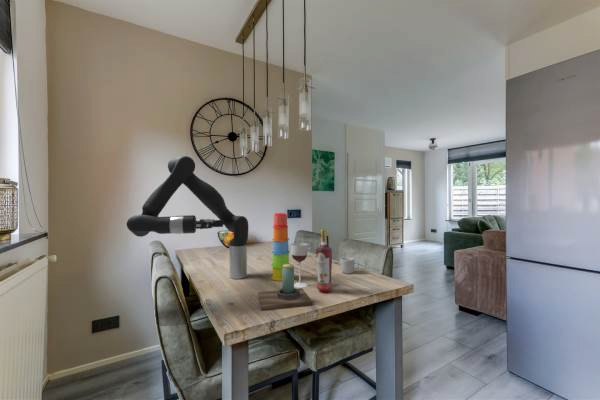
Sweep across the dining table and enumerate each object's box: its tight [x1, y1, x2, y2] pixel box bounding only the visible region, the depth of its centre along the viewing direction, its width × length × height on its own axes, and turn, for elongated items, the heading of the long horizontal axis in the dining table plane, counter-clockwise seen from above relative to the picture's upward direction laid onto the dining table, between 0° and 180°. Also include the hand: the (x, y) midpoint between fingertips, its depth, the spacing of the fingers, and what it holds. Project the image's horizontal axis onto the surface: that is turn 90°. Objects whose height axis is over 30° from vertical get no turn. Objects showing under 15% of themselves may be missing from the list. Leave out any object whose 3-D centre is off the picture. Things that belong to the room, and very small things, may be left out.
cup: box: [339, 256, 360, 275], centre depth 150 cm, size 11×8×8 cm
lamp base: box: [257, 287, 313, 311], centre depth 111 cm, size 16×20×4 cm
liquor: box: [315, 228, 333, 294], centre depth 122 cm, size 7×7×28 cm
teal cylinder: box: [281, 263, 295, 294], centre depth 112 cm, size 5×5×13 cm
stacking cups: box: [270, 212, 291, 282], centre depth 142 cm, size 10×10×35 cm
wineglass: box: [290, 242, 309, 289], centre depth 130 cm, size 8×9×20 cm
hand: (223, 223), depth 115 cm, fingers open, 8 cm apart
